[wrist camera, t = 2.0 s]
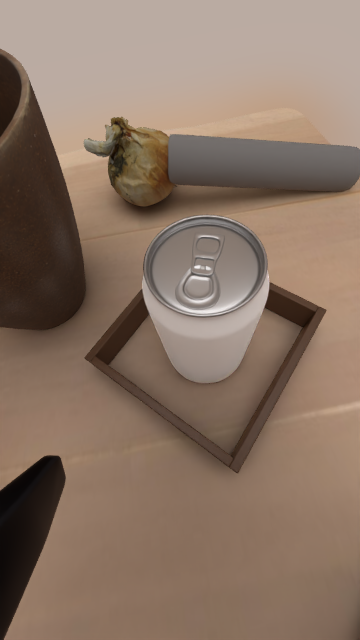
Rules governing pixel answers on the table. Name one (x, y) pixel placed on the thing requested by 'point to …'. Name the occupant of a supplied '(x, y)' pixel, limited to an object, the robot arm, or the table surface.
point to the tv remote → (261, 164)
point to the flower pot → (33, 214)
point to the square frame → (309, 320)
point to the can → (205, 293)
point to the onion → (135, 161)
